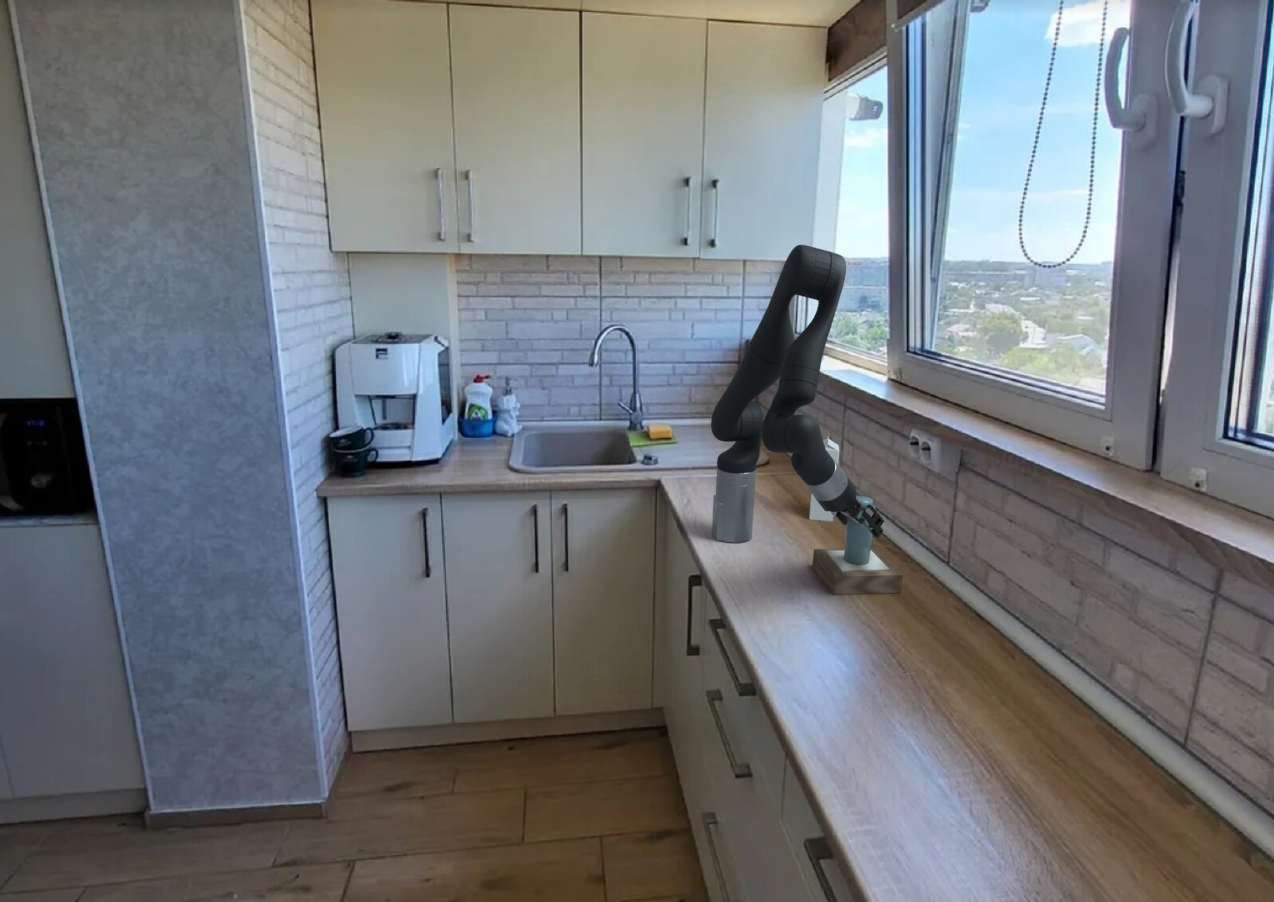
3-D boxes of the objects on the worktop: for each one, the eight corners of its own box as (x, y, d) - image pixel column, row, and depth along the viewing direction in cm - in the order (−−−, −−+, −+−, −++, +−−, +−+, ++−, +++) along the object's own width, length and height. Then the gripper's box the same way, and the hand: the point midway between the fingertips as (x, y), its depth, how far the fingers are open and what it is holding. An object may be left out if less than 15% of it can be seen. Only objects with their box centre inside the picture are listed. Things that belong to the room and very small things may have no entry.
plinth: (834, 594, 149) (836, 574, 148) (812, 565, 162) (814, 547, 161) (900, 592, 150) (903, 573, 149) (873, 564, 164) (875, 546, 162)
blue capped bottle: (848, 565, 152) (855, 503, 149) (840, 555, 157) (845, 495, 154) (873, 564, 153) (879, 503, 149) (863, 554, 158) (870, 495, 154)
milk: (809, 519, 190) (815, 437, 184) (809, 512, 196) (815, 431, 190) (833, 522, 189) (840, 439, 183) (833, 514, 194) (840, 433, 188)
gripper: (868, 478, 140) (900, 524, 149) (812, 460, 151) (846, 503, 160) (846, 509, 138) (880, 553, 147) (792, 489, 150) (827, 531, 159)
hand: (862, 527), depth 154 cm, fingers open, 8 cm apart
